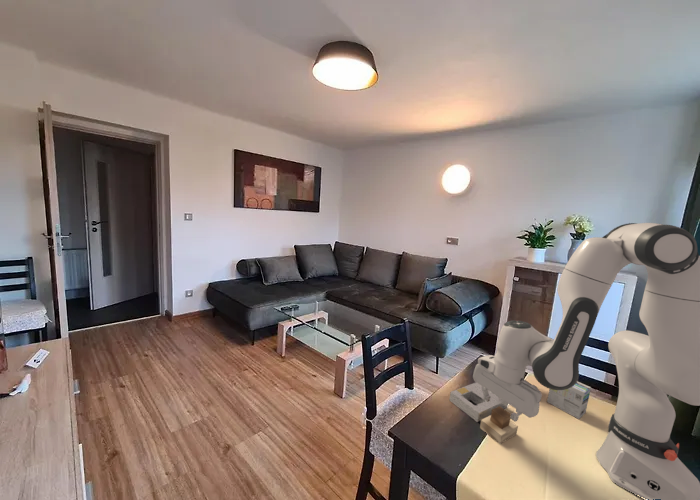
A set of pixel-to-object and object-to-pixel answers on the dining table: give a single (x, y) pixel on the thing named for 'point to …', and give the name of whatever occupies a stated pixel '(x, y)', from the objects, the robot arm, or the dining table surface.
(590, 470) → the dining table surface
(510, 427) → the beige rectangular block
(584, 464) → the dining table surface
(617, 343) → the robot arm
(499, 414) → the walnut block
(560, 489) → the dining table surface
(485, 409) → the plate
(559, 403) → the light bulb box
